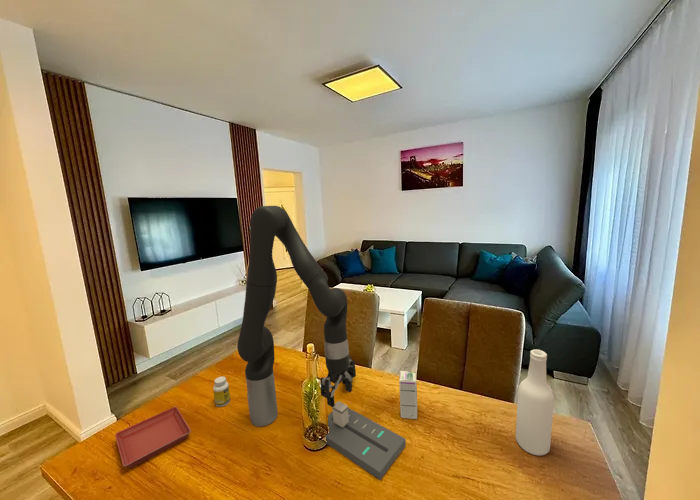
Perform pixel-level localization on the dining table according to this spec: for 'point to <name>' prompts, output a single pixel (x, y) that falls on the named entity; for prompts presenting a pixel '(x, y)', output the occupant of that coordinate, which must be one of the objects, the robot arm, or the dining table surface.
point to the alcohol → (535, 407)
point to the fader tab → (340, 414)
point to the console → (365, 443)
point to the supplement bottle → (221, 392)
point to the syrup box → (408, 394)
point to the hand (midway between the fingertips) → (340, 398)
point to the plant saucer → (151, 436)
